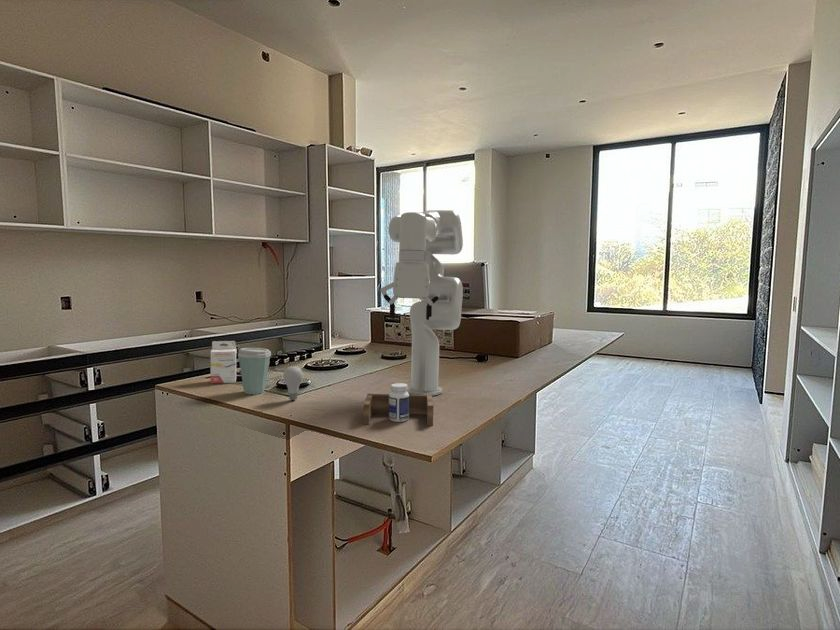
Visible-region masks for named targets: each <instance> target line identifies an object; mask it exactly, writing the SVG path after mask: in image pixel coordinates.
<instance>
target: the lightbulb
mask: <svg viewBox="0 0 840 630" xmlns="http://www.w3.org/2000/svg"><path fill="white" fill-rule="evenodd" d="M282 378H283V381H284V382H285V385H286V388H287V392H288V399H289V400H291V401H292V400H294V401H296V400H297V399H298V395H299V394H298V393H299V390H300V389H299V388H300V386H301V383H302V381H303V379H304V372H303V371H302V369H301V368H300V367H298V366H295V365H294V366H289V367H287V368H286V369H285V370H284V372H283V375H282Z"/></svg>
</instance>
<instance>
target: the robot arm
mask: <svg viewBox="0 0 840 630" xmlns="http://www.w3.org/2000/svg"><path fill="white" fill-rule="evenodd" d="M462 229H463V227H462V222H461V218H460V215H459V213H458V212H457V211H455V210H451V209H450V210H449V209H448V210H447V209H446V210H444V209H443V210H441V209H440V210H436V209H435V210H432V209H431V210H425V211H422V212H416V211H415V212H411V211H410V212H409V211H408V212H404V213H402V214H400V215H395V216H393V217H392V218H391V219H390V221H389V225H388V234H389V235H388V236H389V238H390V239H391V240H392V241H393V242H394V243H398V261H396V263H395V266H394V272H393V273H394V274H393V282H390V283H389V284H387V285H385V286H383V287H381V288H380V293H381V295H382V297H383V298H384V300H385V301H387V303H388V304H389V317H391V319H392V320H394V319H395V318H396V305H395V302H396V301H397V300H398V299H419V301H416V302H414V303H413V304H411V306H410V307H409V318H410V327H411V361H410V362H411V363H410V364H411V365H410V366H411V367H410V385H409V386H408V385H407V386H408V389H407V392H408V393H409V394H414V395H432V397H433V396H438V395H441V394H442V393H443V387H441V386H439V372H440V371H439V366H440V341H439V339H438V336H437V335H436V334H435V332H434V331H433V330H442V331H443V330H445V331H446V330H447V331H448V330H449V331H451V330H452V331H453V330H456V329H458V328H459V327H460V324H461V319H462V309H463V308H462V306H463V298H464V297H463V295H464V288H463V287H464V286H463V283H462V280H461V279H460V278H458V277H456V276H444V275H445V273H444V272H445V267H444V266H443V264H442V262H441V261H439V259H438V258H436V256H435V255H458V254H460V253H461V251H462V250H463V246H464V244H463V243H464V240H463V230H462ZM390 289H392V291H393V292H392V293H393V297H392V298H391V297H390V296H389V295H388V293H387V291H388V290H390Z"/></svg>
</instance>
